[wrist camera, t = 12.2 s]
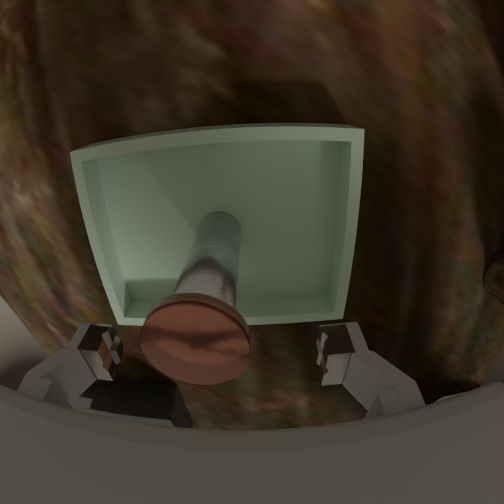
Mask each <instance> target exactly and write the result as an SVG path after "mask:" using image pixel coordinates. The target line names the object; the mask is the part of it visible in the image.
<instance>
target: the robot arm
mask: <svg viewBox="0 0 504 504" xmlns="http://www.w3.org/2000/svg"><path fill="white" fill-rule="evenodd" d="M317 333H318V339H317V340H316V344H315V357H316V363H317V364H318V365H319V366H320V367H319V377H320V382H321V385H333V384H342V385H343V386H344V387H345V388H346V389H347V390H348V391H349V392H350V393H351V394H352V395H353V396H354V397H355V398H356V399H357V400H358V401H359V402H360V403H361V404H362V405H363V406H364V407H365V408H366V409H367V410H368V412H367V414H366V416H365V418H364V419H363V420H357V421H351V422H345V423H338V424H330V425H322V426H312V427H302V428H288V429H270V430H213V429H194V428H181V427H171V426H162V425H153V424H146V423H139V422H133V421H127V420H121V419H115V418H110V417H105V416H100V415H96V414H91V413H87V412H83V411H79V410H75V409H73V408H72V407H71V404H72V403H73V402H74V401H75V400H76V399H77V398H78V397H79V396H80V395H81V394H82V393H83V392H84V391H85V390H86V389H87V388H88V387H89V386H91V385H92V384H93V383H94V382H95V381H96V379H102V380H110V381H113V380H114V378H115V375H116V372H117V370H118V368H117V366H116V364H118V363H119V362H120V361H121V359H122V357H123V344H122V342H121V340H120V339H119V338H118V337H117V336H116V334H117V330H116V328H115V326H113V325H107V324H97V323H86V322H83V323H81V325H80V326H79V328H78V330H77V331H76V333H75V335H74V336H73V338H72V340H71V341H70V343H69V345H68V347H67V348H66V347H64V348H63V349H61V350H59V351H58V352H56V353H55V354H53V355H52V356H50V357H49V358H47V359H46V360H44V361H43V362H41V363H40V364H39V365H37V366H35V367H34V368H32V369H31V370H30V371H28V372H27V374H26V375H25V377H24V379H23V381H22V383H21V384H20V386H19V388H18V390H17V391H14V390H12V389H9V388H7V387H4V386H2V385H0V504H504V384H502V383H501V382H492V383H489V384H487V385H484V386H481V387H479V388H476V389H474V390H471V391H467V392H463V393H459V394H454V395H450V396H445V397H442V398H440V399H438V400H437V401H436V402H434V403H432V404H428V405H425V402H424V400H423V398H422V395H421V393H420V390H419V388H418V386H417V384H416V381H415V380H413V379H412V378H410V377H409V376H407V375H406V374H405V373H403V372H402V371H400V370H399V369H398V368H396V367H395V366H393V365H392V364H391V363H389V362H388V361H386V360H385V359H384V358H382V357H381V356H379V355H378V354H377V353H375V352H374V351H369V349H368V347H367V344H366V342H365V339H364V337H363V334H362V332H361V329H360V327H359V324H358V323H357V322H349V323H339V324H327V325H319V327H318V331H317Z"/></svg>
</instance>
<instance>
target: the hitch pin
mask: <svg viewBox="0 0 504 504" xmlns="http://www.w3.org/2000/svg"><path fill="white" fill-rule="evenodd" d="M241 236H242V229H241V225H240V223H239V221H238V220H237V219H236V218H235V217H234V216H233V215H231V214H229V213H227V212H222V211H217V212H212V213H210V214H208V215H207V216H205V217H204V218H203V219H202V221H201V223H200V225H199V228H198V230H197V233H196V235H195V238H194V240H193V243H192V245H191V248H190V250H189V253H188V255H187V258H186V261H185V263H184V266H183V268H182V271H181V274H180V276H179V279H178V282H177V284H176V287H175V290H174V293H173V295H170V296H167V297H165V298H162V299H161V300H159V301H158V302H156V303H155V304H154V305H153V306H152V308H151V309H150V311H149V313H148V315H147V317H146V320H145V322H144V324H143V327H142V329H141V332H140V340H139V341H140V346H141V349H142V351H143V353H144V355H145V357H146V358H147V360H148V361H149V362H150V363H151V364H152V365H153V366H154V367H155V368H157V369H158V370H159V371H161V372H162V373H164V374H166V375H168V376H170V377H172V378H174V379H177V380H180V381H183V382H187V383H192V384H202V385H209V384H217V383H222V382H226V381H228V380H231V379H233V378H235V377H236V376H238V375H239V374H240V373H241V372H242V371H243V370H244V369H245V368H246V366H247V364H248V362H249V358H250V331H249V327H248V324H247V323H246V321H245V319H244V318H243V316H242V315H241V314H240V313H239V312H238V311H237V310H236V309H235V307H236V295H237V282H238V271H239V259H240V247H241Z"/></svg>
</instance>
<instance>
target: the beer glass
mask: <svg viewBox="0 0 504 504" xmlns="http://www.w3.org/2000/svg"><path fill="white" fill-rule="evenodd" d="M484 288H485V290H486V291H487V292H488V293H489V294H491V295H492V296H494V297H495V298H496V299H498V300H499V301H500V302H501V303H502V304H503V305H504V248H503V249H501V250H500V251H499V252H498V253H497V254H496V255H495V256H494V257H493V259H492V260H491V262H490V263H489V265H488V267H487V269H486V272H485V275H484Z"/></svg>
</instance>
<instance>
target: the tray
mask: <svg viewBox="0 0 504 504" xmlns="http://www.w3.org/2000/svg"><path fill="white" fill-rule="evenodd" d="M363 152H364V129H362V128H358V127H355V126H351V125H345V124H325V123H253V124H233V125H218V126H205V127H195V128H185V129H177V130H169V131H161V132H154V133H147V134H141V135H135V136H129V137H123V138H118V139H113V140H107V141H103V142H98V143H93V144H90V145H87V146H84V147H82V148H79V149H76V150H74V151H71V152H70V157H71V162H72V168H73V173H74V179H75V184H76V188H77V193H78V198H79V202H80V206H81V211H82V215H83V219H84V223H85V226H86V230H87V234H88V237H89V241H90V244H91V248H92V251H93V255H94V258H95V261H96V264H97V267H98V270H99V274H100V277H101V280H102V282H103V285H104V288H105V291H106V294H107V297H108V299H109V302H110V305H111V307H112V310H113V313H114V315H115V318H116V320H117V323H118V325H140V326H143V324H144V322H145V320H146V317H147V315H148V313H149V311H150V309H151V308H152V306H153V305H154V304H155V303H156V302H158V301H159V300H161V299H162V298H165V297H167V296H170V295H173V293H174V290H175V287H176V284H177V282H178V279H179V276H180V274H181V271H182V268H183V266H184V263H185V261H186V258H187V255H188V253H189V250H190V248H191V245H192V243H193V240H194V238H195V235H196V233H197V230H198V228H199V225H200V223H201V221H202V219H203V218H204V217H205V216H207V215H208V214H210V213H212V212H217V211H222V212H227V213H229V214H231V215H233V216H234V217H235V218H236V219H237V220H238V221H239V223H240V225H241V229H242V236H241V247H240V259H239V271H238V282H237V295H236V307H235V309H236V310H237V311H238V312H239V313H240V314H241V315H242V316H243V318H244V319H245V321H246V323H247V324H248V325H261V324H281V323H297V322H311V321H323V320H334V319H343V315H344V310H345V304H346V299H347V293H348V287H349V281H350V275H351V269H352V262H353V255H354V248H355V240H356V232H357V224H358V215H359V205H360V194H361V182H362V169H363Z"/></svg>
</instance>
